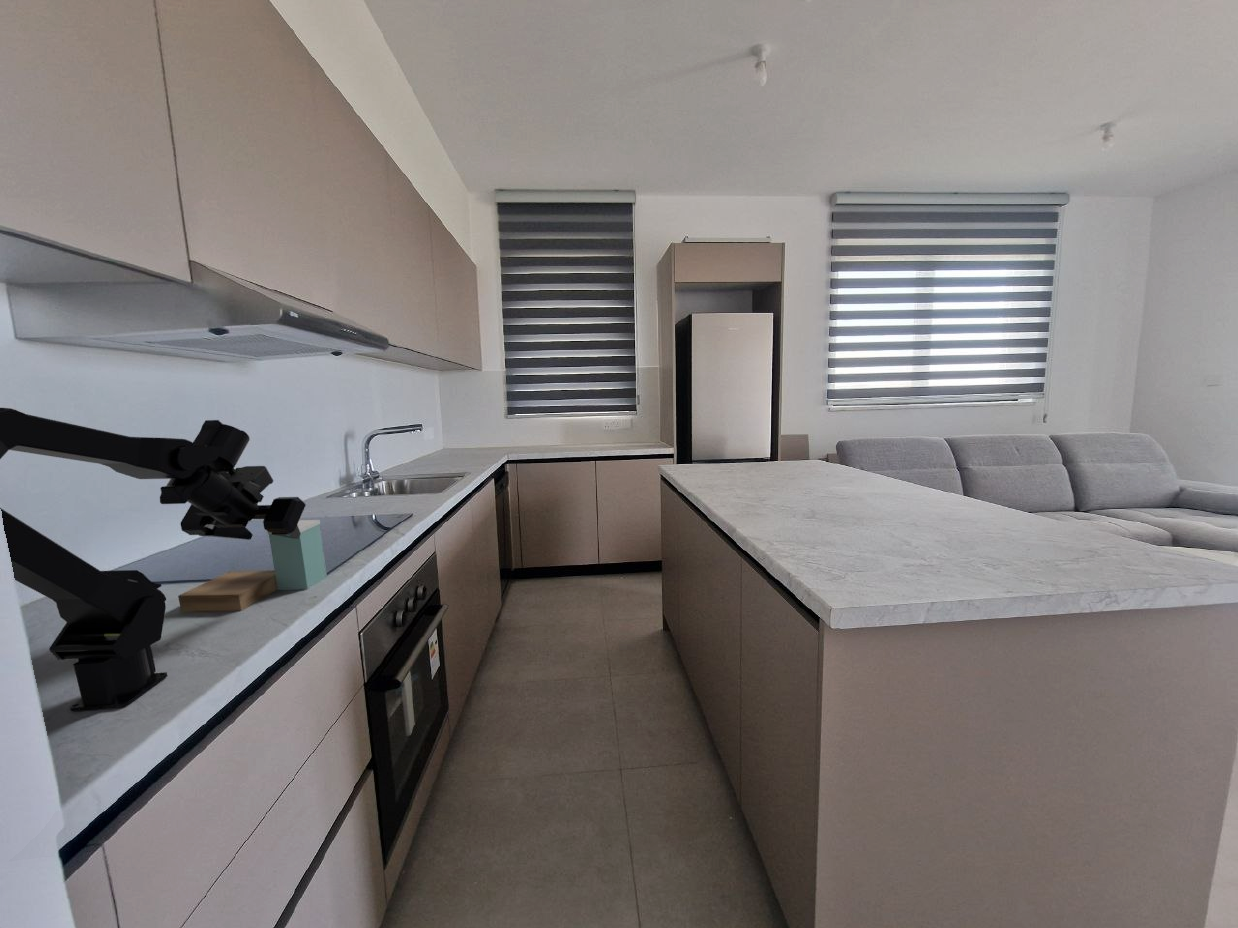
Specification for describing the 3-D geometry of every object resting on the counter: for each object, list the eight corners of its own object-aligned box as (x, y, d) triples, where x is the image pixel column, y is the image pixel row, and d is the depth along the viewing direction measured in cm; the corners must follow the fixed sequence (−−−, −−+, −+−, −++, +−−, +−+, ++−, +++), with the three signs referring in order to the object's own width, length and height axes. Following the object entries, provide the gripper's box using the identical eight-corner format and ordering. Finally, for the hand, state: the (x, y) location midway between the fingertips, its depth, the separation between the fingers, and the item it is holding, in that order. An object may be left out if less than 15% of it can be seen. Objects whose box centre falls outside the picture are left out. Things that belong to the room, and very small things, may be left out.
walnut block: (241, 610, 83) (238, 594, 83) (181, 611, 83) (178, 595, 83) (285, 584, 94) (283, 570, 94) (232, 585, 94) (230, 571, 94)
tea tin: (307, 589, 91) (298, 529, 89) (276, 589, 92) (267, 529, 89) (327, 576, 98) (319, 519, 95) (298, 577, 98) (289, 520, 96)
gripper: (289, 452, 79) (338, 498, 92) (183, 454, 80) (245, 500, 93) (261, 509, 73) (317, 551, 86) (145, 511, 73) (218, 552, 86)
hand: (274, 536), depth 88 cm, fingers open, 9 cm apart
